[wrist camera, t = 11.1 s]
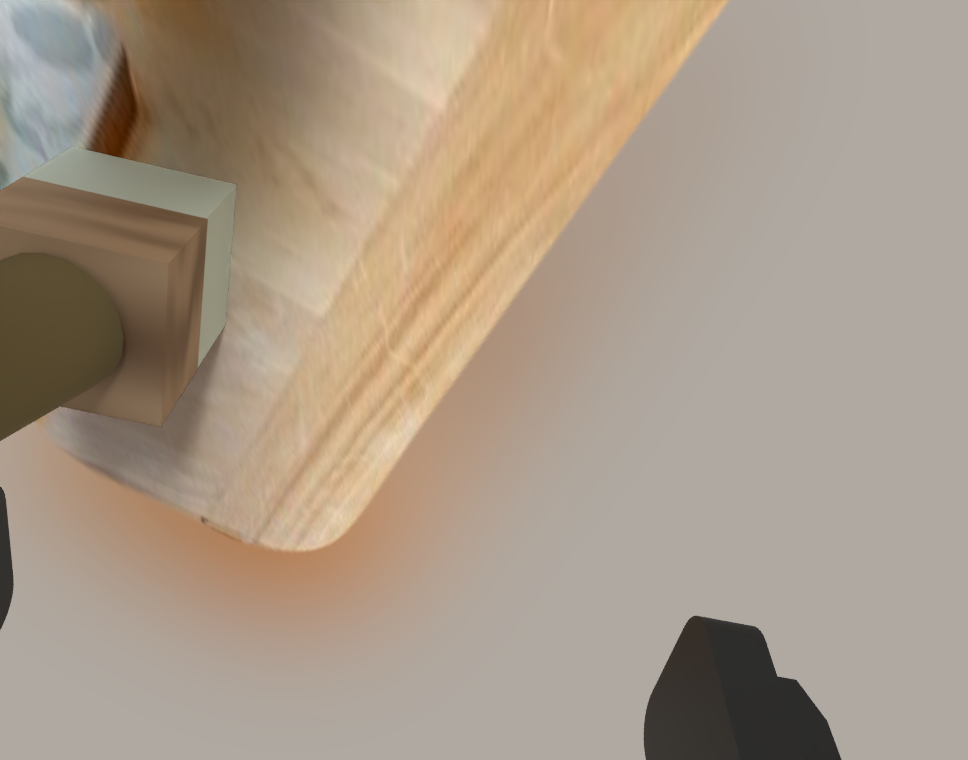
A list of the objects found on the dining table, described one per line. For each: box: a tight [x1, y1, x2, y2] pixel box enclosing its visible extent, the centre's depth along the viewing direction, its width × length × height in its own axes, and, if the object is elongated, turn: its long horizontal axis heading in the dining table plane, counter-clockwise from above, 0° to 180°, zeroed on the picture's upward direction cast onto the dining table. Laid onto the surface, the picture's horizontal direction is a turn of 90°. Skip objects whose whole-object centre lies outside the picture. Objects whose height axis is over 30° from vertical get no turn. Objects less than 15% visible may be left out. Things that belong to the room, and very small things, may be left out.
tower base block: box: [24, 147, 237, 367], centre depth 41 cm, size 8×8×5 cm
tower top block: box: [0, 177, 208, 427], centre depth 37 cm, size 8×8×5 cm
